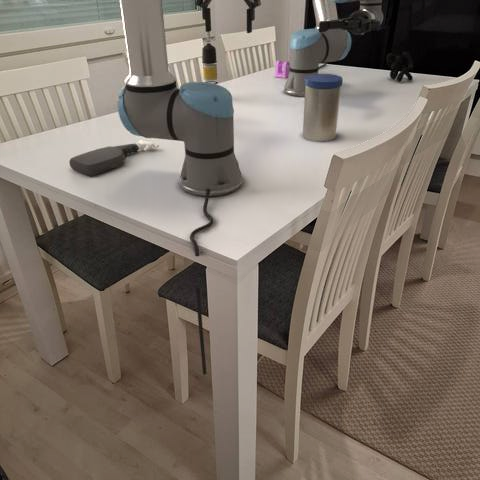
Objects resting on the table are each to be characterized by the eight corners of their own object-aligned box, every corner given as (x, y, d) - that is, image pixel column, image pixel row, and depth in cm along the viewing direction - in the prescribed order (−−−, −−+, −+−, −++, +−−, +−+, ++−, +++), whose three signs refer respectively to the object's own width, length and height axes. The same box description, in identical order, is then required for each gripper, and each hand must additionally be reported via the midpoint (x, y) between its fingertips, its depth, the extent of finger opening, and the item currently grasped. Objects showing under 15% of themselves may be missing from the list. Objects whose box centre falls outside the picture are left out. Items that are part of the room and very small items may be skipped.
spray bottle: (67, 168, 120) (139, 144, 136) (91, 178, 114) (163, 151, 130) (65, 157, 118) (137, 134, 134) (89, 167, 112) (162, 142, 128)
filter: (220, 99, 177) (217, 15, 161) (206, 100, 176) (202, 16, 160) (215, 96, 182) (212, 14, 166) (202, 97, 180) (197, 14, 164)
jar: (295, 135, 140) (298, 79, 131) (317, 128, 145) (321, 74, 136) (320, 143, 133) (325, 85, 124) (342, 136, 139) (348, 79, 130)
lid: (296, 84, 131) (297, 77, 130) (320, 78, 137) (321, 72, 136) (325, 90, 124) (326, 83, 123) (349, 84, 130) (350, 77, 129)
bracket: (285, 77, 208) (285, 62, 204) (275, 76, 211) (275, 60, 207) (299, 72, 216) (300, 57, 213) (289, 71, 219) (290, 56, 216)
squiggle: (400, 92, 202) (376, 71, 205) (417, 76, 202) (392, 56, 205) (405, 81, 191) (380, 59, 194) (423, 64, 191) (397, 42, 194)
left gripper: (272, -51, 127) (270, 31, 138) (192, -49, 134) (197, 29, 145) (264, -51, 121) (263, 34, 132) (181, -49, 128) (187, 32, 139)
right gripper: (396, 34, 152) (379, 42, 136) (326, 33, 163) (303, 40, 147) (399, 9, 148) (382, 14, 132) (327, 10, 159) (304, 14, 143)
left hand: (228, 32), depth 139 cm, fingers open, 13 cm apart
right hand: (340, 28), depth 140 cm, fingers open, 13 cm apart
